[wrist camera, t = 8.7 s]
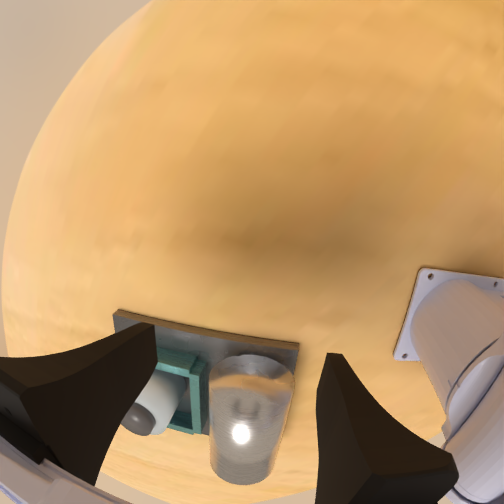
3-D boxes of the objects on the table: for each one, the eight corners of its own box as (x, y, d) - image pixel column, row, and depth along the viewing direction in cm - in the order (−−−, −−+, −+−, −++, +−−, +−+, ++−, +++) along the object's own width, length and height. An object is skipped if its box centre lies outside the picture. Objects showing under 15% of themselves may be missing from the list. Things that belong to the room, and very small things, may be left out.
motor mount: (298, 343, 22) (294, 405, 16) (277, 440, 26) (268, 493, 20) (118, 309, 25) (72, 348, 18) (135, 407, 28) (107, 449, 22)
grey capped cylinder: (187, 369, 24) (161, 415, 18) (184, 405, 25) (162, 449, 20) (136, 351, 24) (102, 391, 19) (138, 388, 26) (110, 427, 20)
